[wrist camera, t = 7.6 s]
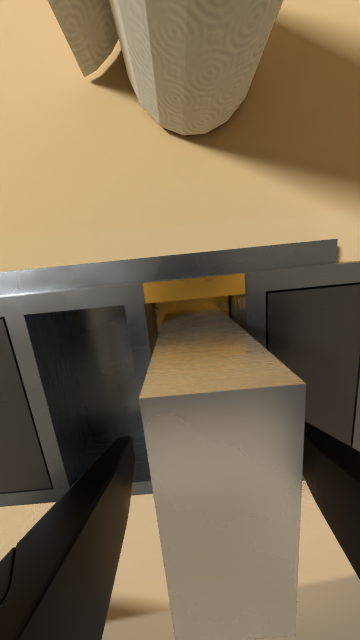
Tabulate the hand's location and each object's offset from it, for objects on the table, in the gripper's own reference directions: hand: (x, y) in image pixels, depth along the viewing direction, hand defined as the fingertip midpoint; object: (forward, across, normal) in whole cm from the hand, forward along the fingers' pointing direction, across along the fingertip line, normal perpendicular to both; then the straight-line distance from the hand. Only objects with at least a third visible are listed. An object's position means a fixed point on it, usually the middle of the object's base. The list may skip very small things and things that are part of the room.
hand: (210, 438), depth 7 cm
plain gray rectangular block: (+5, 0, 0) cm, 5 cm away
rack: (+6, +2, 0) cm, 7 cm away
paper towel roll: (+7, 0, -16) cm, 17 cm away
